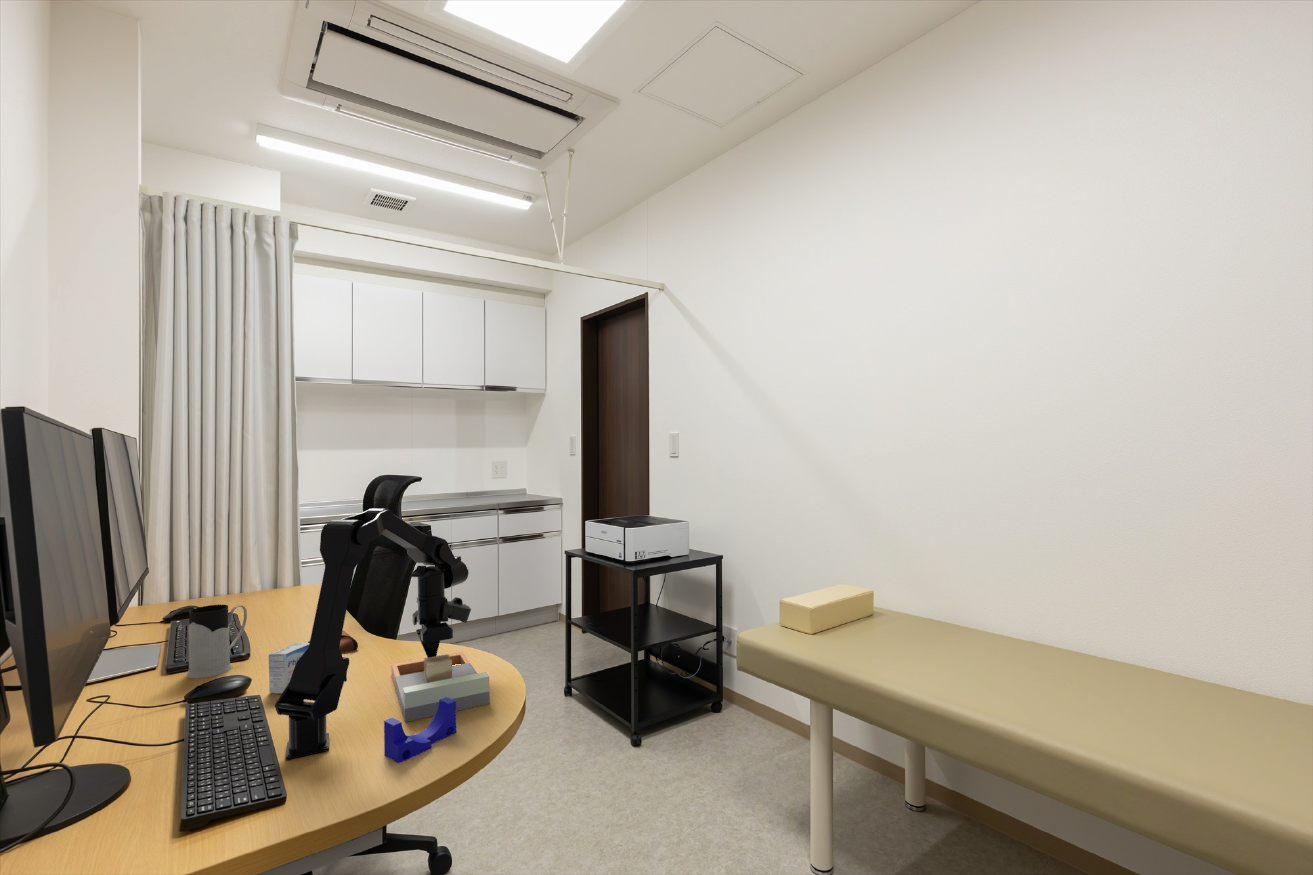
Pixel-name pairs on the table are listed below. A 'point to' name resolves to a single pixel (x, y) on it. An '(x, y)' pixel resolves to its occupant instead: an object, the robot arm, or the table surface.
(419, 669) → the trap deck
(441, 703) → the blue cradle bracket
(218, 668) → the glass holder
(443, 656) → the birch block
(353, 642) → the sunglasses case
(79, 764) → the table surface
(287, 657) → the medicine box
